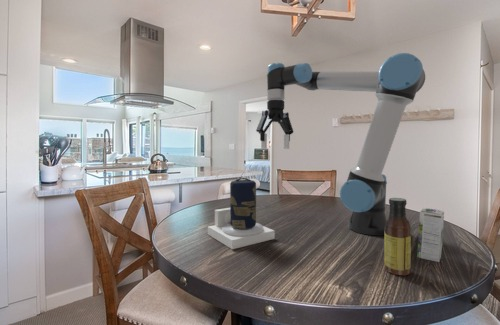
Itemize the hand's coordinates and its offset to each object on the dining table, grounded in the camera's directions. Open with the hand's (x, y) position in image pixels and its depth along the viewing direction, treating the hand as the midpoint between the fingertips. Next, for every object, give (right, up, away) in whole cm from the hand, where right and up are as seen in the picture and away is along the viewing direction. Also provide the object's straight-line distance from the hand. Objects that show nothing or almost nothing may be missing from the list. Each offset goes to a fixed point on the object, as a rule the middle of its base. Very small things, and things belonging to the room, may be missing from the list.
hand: (275, 148), depth 118 cm
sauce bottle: (+28, -36, -46) cm, 65 cm away
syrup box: (+44, -35, -37) cm, 67 cm away
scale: (-15, -34, -19) cm, 41 cm away
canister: (-14, -30, -20) cm, 39 cm away
